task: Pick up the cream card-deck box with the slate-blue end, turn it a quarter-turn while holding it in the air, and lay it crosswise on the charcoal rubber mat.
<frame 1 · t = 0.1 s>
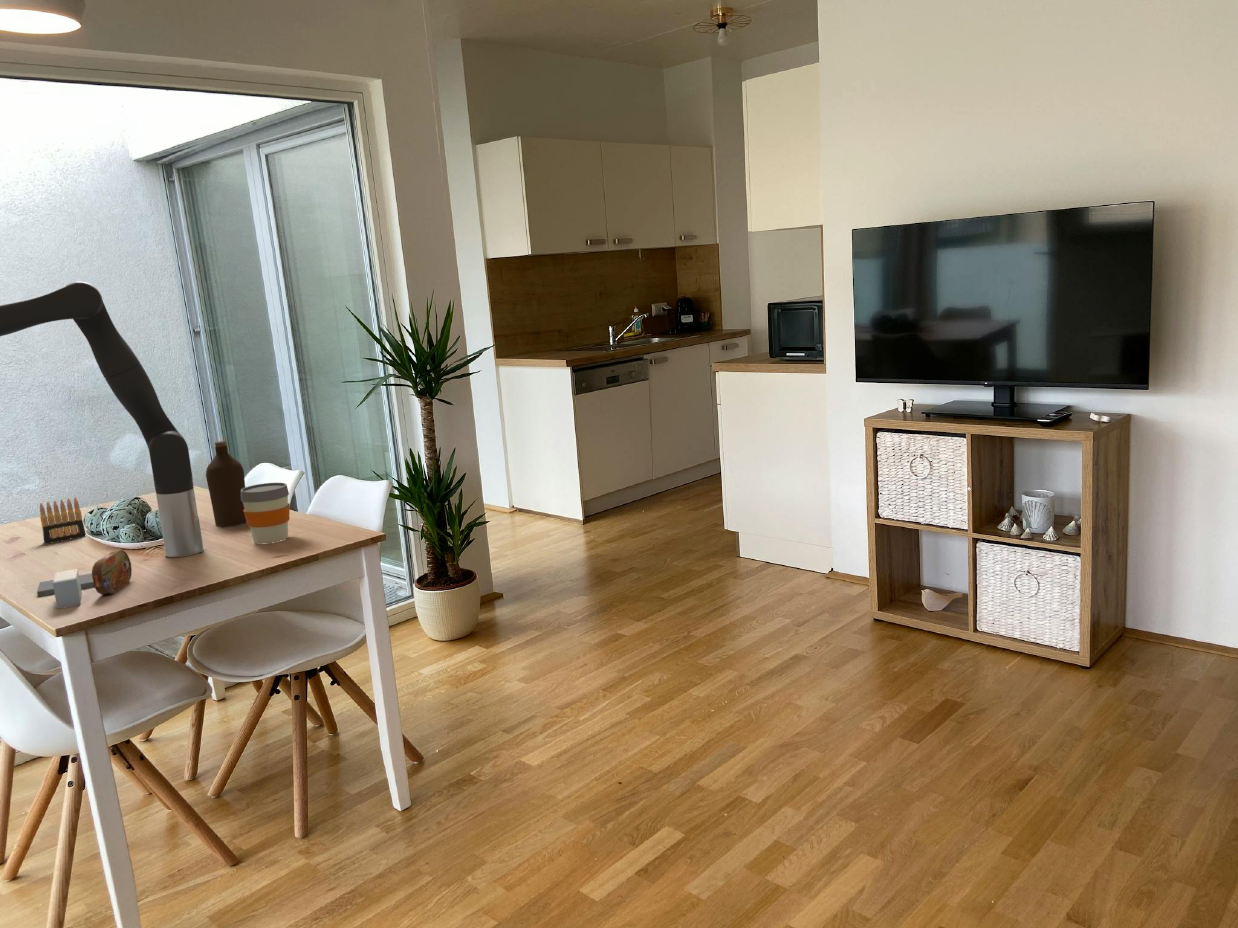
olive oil: (232, 523, 286), on the table
ammunition clip: (65, 540, 278), on the table
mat: (70, 586, 230), on the table
deck box: (70, 600, 218), on the table
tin: (115, 589, 225), on the table
reusable coffee cup: (271, 540, 262), on the table
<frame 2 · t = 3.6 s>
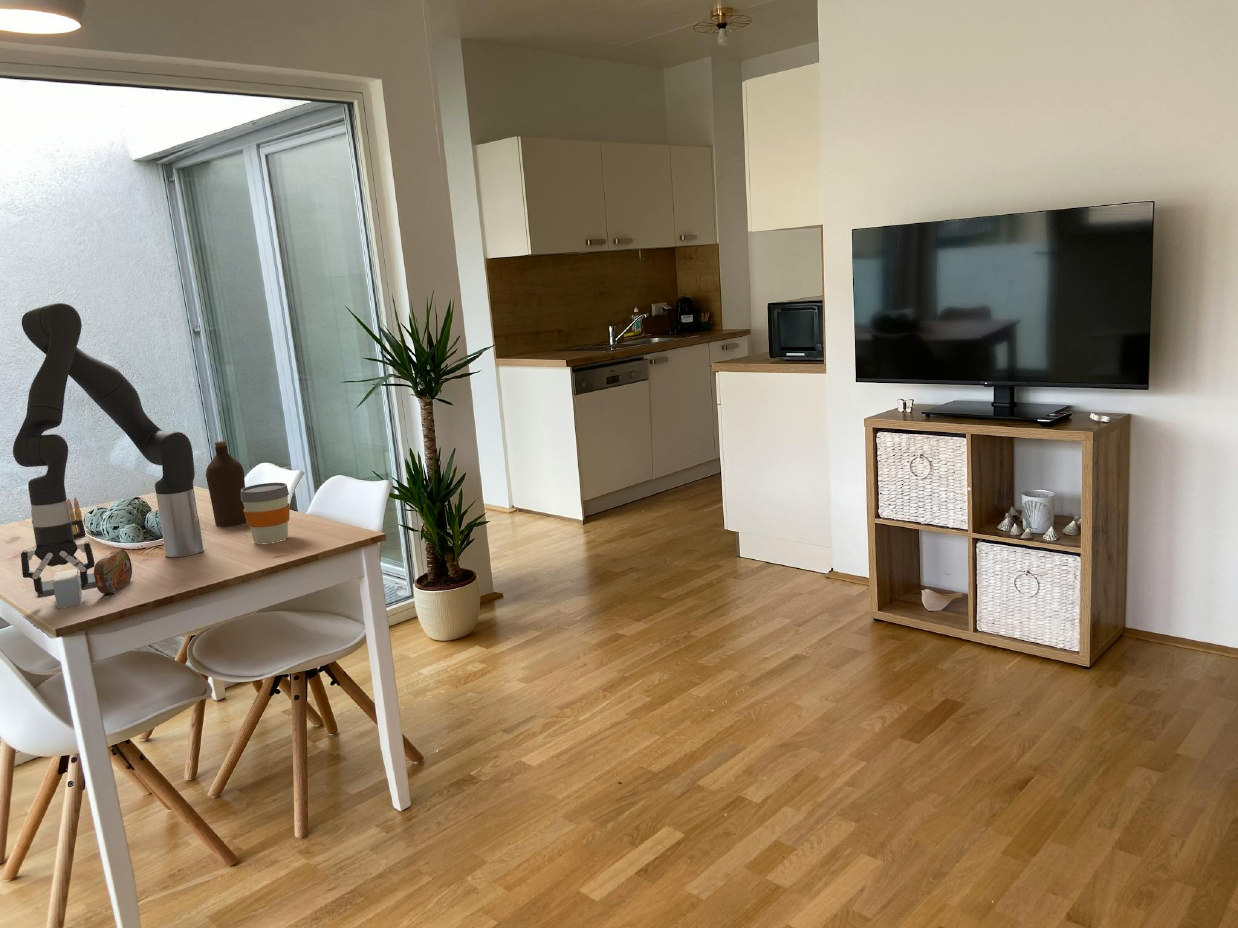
hand: (62, 590, 217), 3 cm above the table, tool pointing down, fingers open, 8 cm apart
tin: (116, 589, 226), on the table, touching gripper, hand
everything else where it was.
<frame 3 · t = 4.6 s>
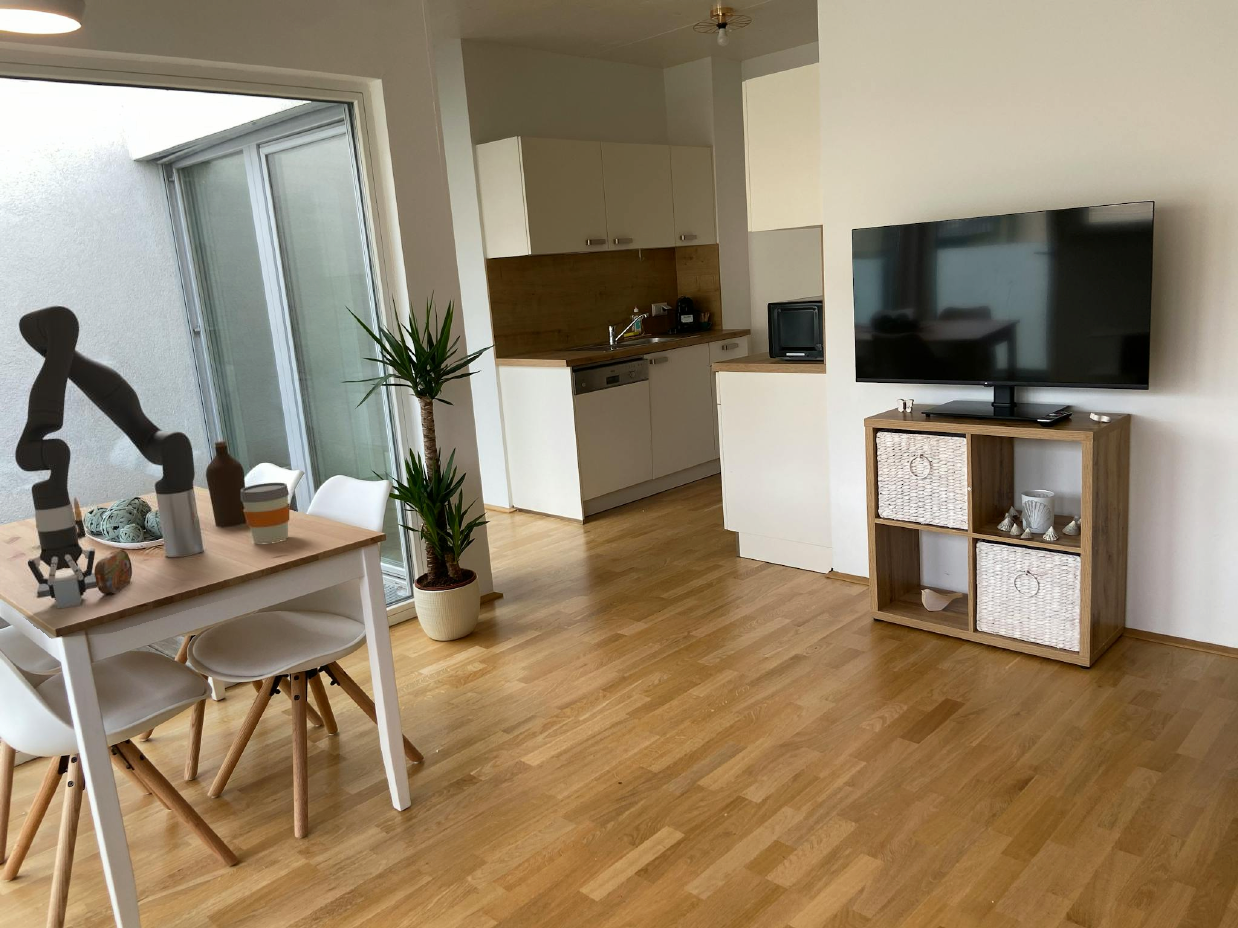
hand: (69, 596, 218), 1 cm above the table, tool pointing down, fingers closed on deck box, 4 cm apart
deck box: (70, 600, 218), on the table, touching gripper
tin: (116, 589, 226), on the table
everything else where it was.
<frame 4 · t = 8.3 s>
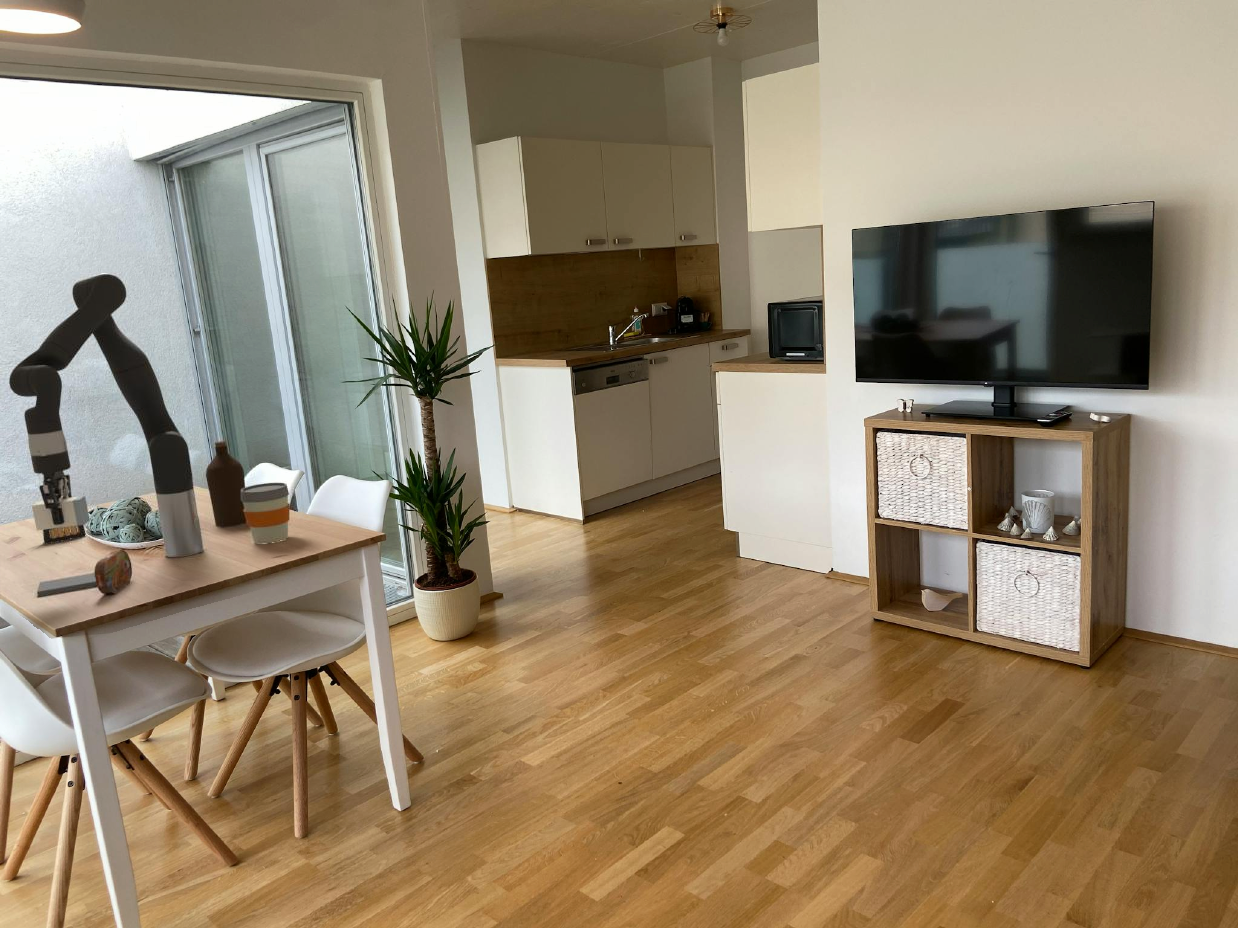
hand: (62, 521, 223), 17 cm above the table, tool pointing down, fingers closed on deck box, 4 cm apart
deck box: (63, 525, 223), point 16 cm above the table, touching gripper
everything else where it was.
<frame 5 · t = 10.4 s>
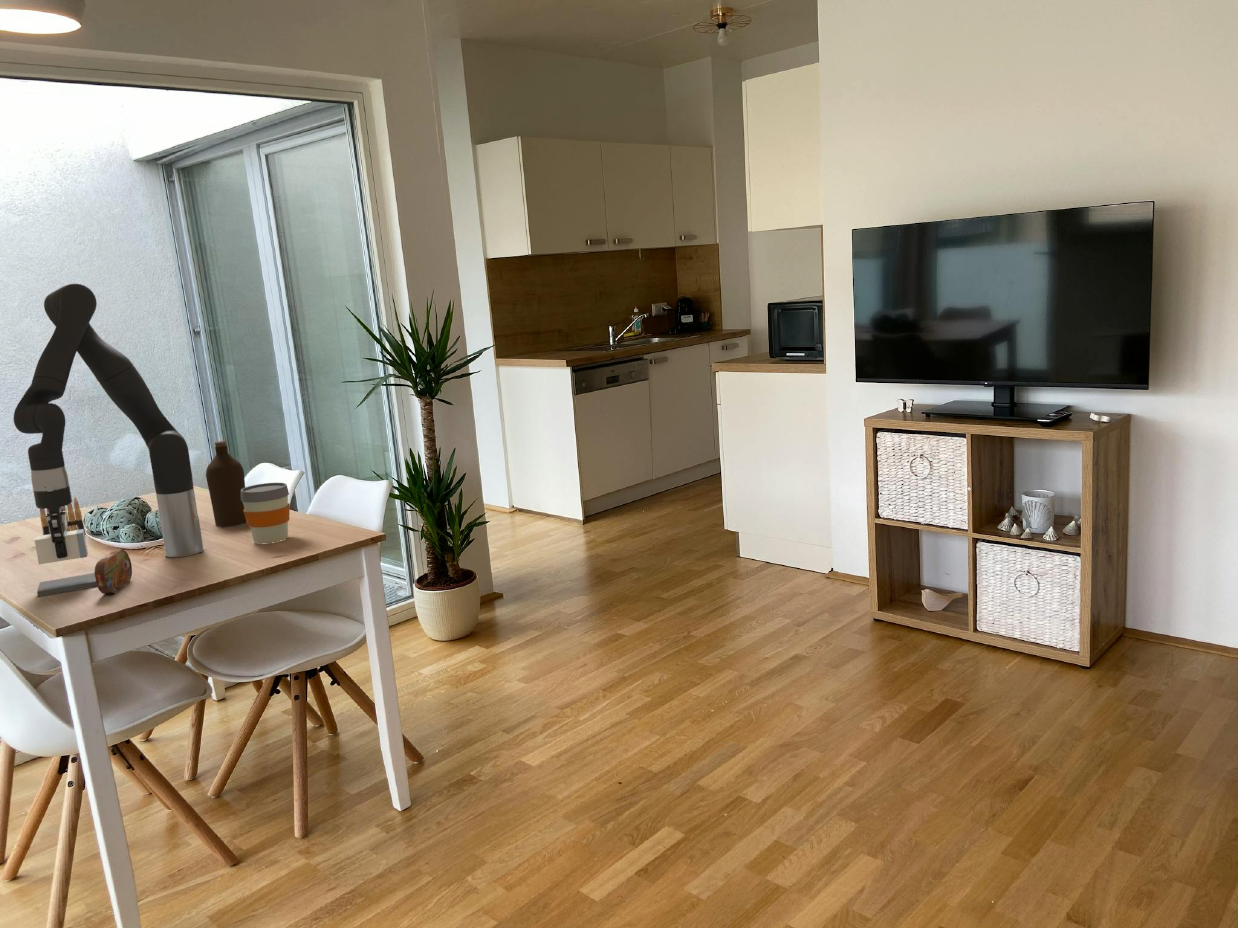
hand: (63, 554, 228), 8 cm above the table, tool pointing down, fingers closed on deck box, 4 cm apart
deck box: (63, 558, 228), point 7 cm above the table, touching gripper
everything else where it was.
when the fingers open (3 cm above the table, at t = 12.2 s): deck box drops 1 cm, resting on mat.
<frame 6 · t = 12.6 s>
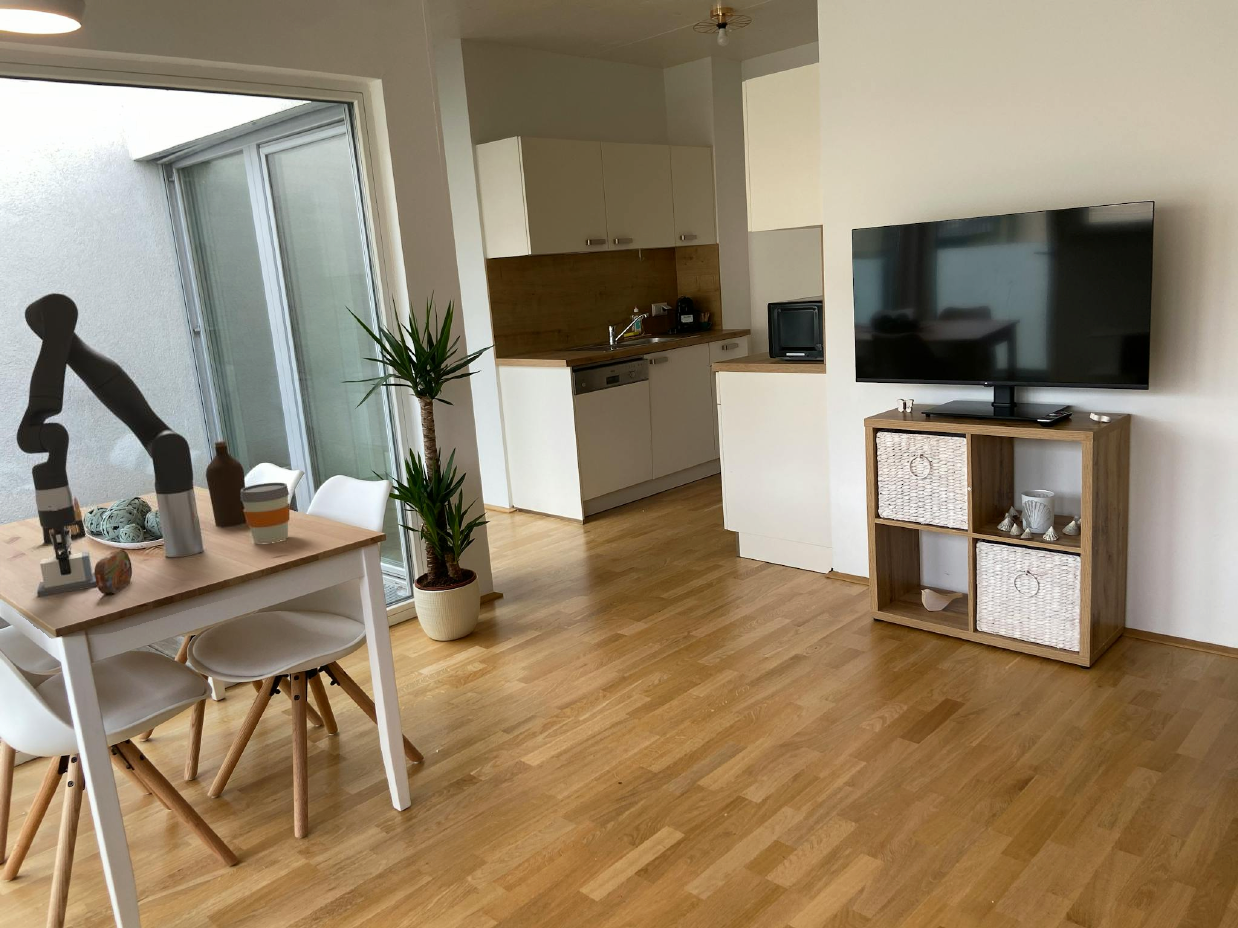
hand: (67, 570, 229), 4 cm above the table, tool pointing down, fingers open, 8 cm apart
deck box: (69, 581, 229), point 1 cm above the table, touching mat
everything else where it was.
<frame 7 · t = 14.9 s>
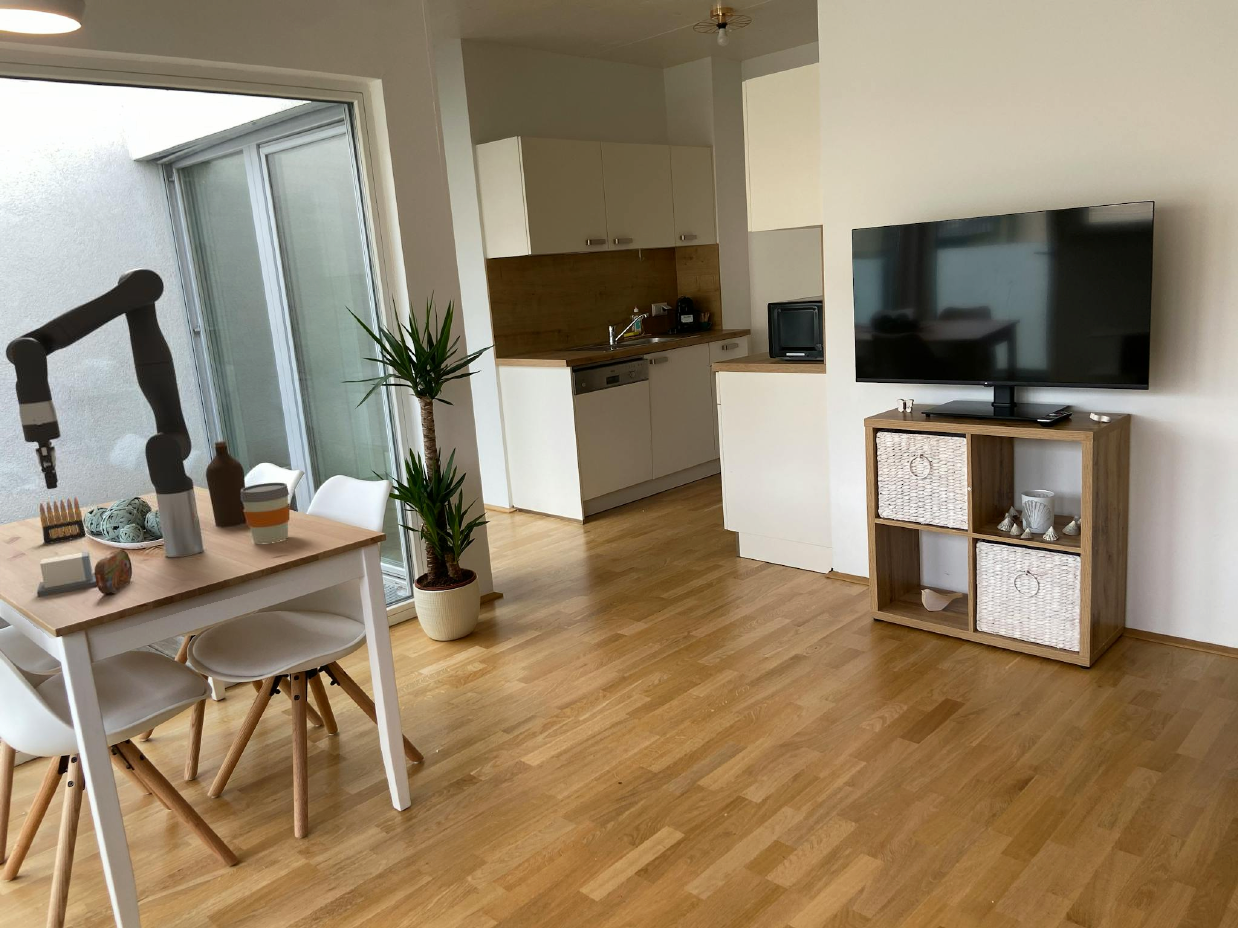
hand: (52, 485, 231), 24 cm above the table, tool pointing down, fingers open, 8 cm apart
nothing on the table moved.
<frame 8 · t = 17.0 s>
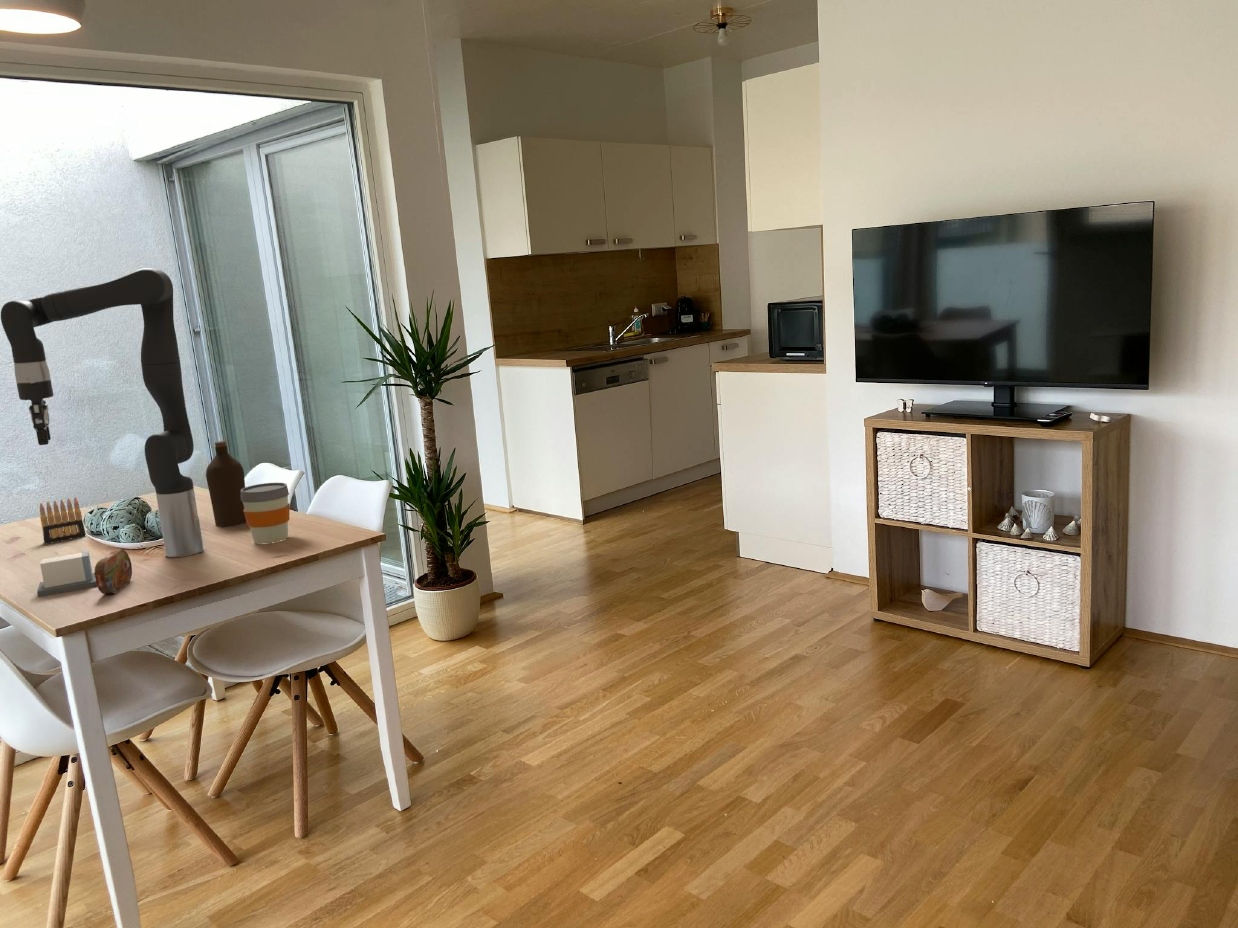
hand: (45, 442, 242), 33 cm above the table, tool pointing down, fingers open, 8 cm apart
nothing on the table moved.
at the end: deck box inside the target area on the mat (0.1 cm from its centre), point 1.2 cm above the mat's base; deck box tilted 0°; the gripper is holding nothing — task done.
